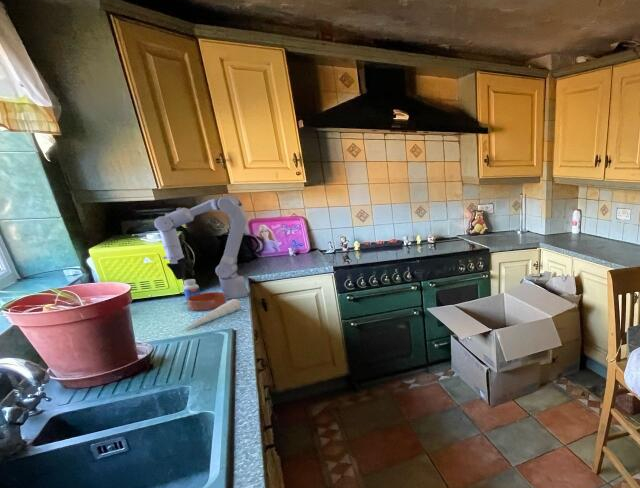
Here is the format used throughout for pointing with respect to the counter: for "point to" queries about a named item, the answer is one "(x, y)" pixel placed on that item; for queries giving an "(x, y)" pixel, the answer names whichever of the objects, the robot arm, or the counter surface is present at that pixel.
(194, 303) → the bowl
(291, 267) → the counter surface
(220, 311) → the unicorn horn
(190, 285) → the pill bottle
